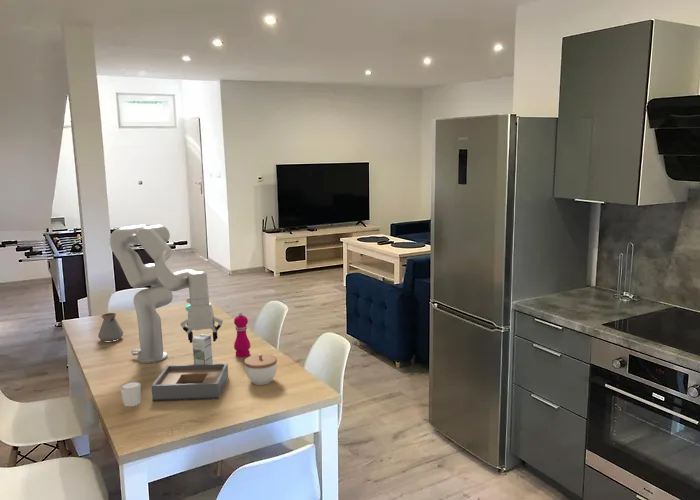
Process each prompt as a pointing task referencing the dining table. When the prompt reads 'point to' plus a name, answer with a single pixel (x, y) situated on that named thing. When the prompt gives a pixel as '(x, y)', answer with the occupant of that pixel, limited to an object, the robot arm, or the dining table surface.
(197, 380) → the gray open box
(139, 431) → the dining table surface
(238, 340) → the pepper mill
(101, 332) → the coffee pot
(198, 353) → the syrup box
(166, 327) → the dining table surface
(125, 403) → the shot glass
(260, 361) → the lidded bowl
